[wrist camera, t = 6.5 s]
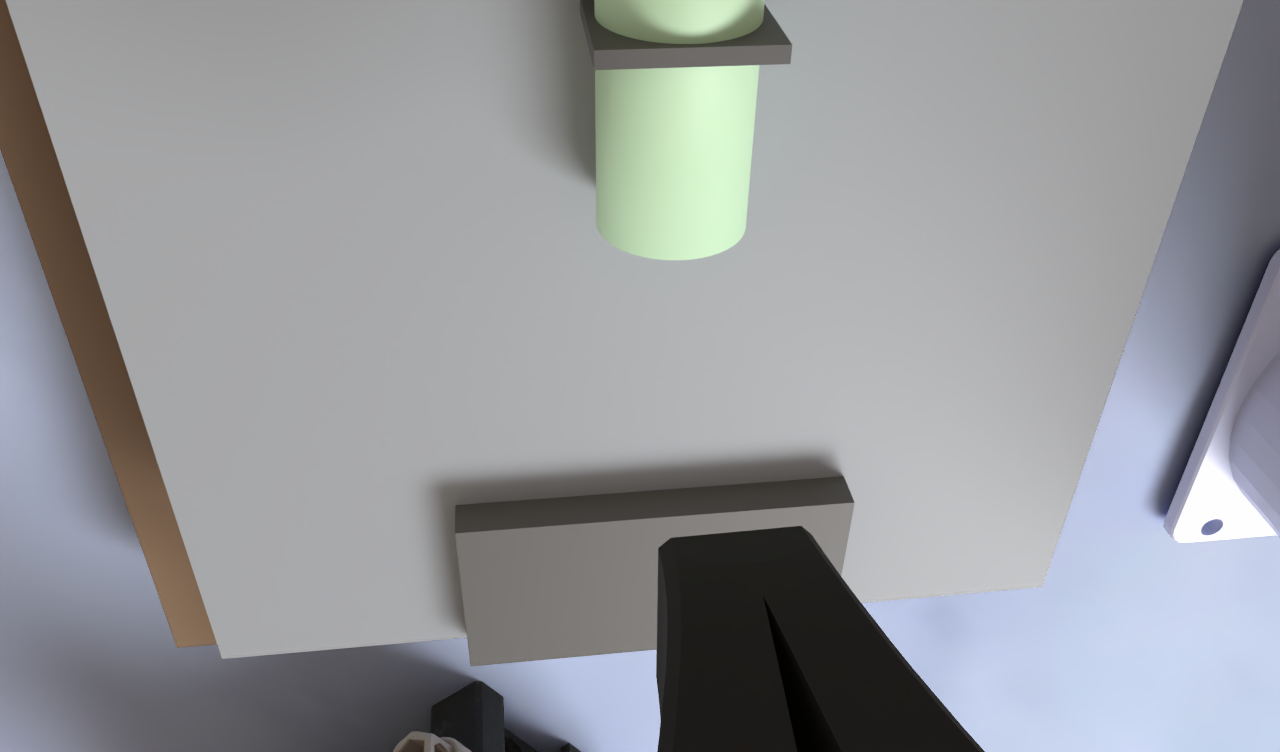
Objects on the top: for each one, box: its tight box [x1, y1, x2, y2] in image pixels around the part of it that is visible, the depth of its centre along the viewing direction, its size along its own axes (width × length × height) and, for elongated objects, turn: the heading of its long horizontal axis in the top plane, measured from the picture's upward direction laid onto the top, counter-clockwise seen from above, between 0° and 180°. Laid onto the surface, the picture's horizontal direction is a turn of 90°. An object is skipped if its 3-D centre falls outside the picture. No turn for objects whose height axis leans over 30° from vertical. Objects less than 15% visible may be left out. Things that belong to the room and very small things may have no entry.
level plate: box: [6, 0, 1244, 666], centre depth 13 cm, size 14×18×3 cm
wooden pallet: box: [0, 0, 217, 648], centre depth 16 cm, size 18×23×4 cm
